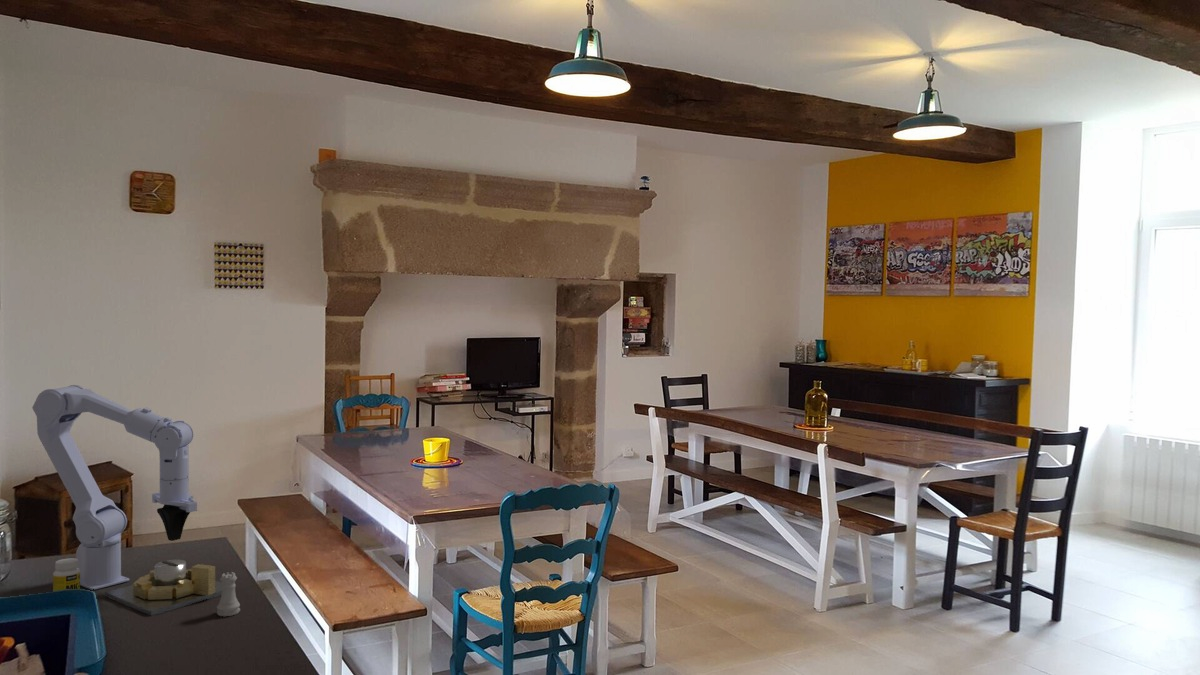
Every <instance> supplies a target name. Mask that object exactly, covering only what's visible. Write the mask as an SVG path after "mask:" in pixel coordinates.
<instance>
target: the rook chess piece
mask: <svg viewBox="0 0 1200 675" xmlns="http://www.w3.org/2000/svg"><path fill="white" fill-rule="evenodd" d="M237 579H238V577H237V576H236V573H235V572H233V571H231V572H229V571H228V572H227V571H226V573H224V572H222V574H221V577H220V578H219V582H221V583H222V586H221V588H222V595H221V596H220V600H219V603H218V604H217V605H216V609H217V611H216V614H217V615H218V616H219V617H222V616H223V618H225V617H226V616H229V617H234V616H236V615H238V614H239V612H241V608H240V606H241V604H240V602H239V601H238V600H239V599H238V598H237V595H236V594H237V593H236V586H237V585H236V580H237ZM233 615H234V616H233Z"/></svg>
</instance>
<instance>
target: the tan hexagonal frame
mask: <svg viewBox="0 0 1200 675" xmlns="http://www.w3.org/2000/svg"><path fill="white" fill-rule="evenodd" d="M215 581H216V566H215V565H209V564H199V563H197V564H195V565H192V566H191V568H189V569H187V568H186V579H185V580H181V581H177V585H174V586H155V569H152V570H149V573H148V574H145V575H143V576H140V577H139V578H138V579H137V580H136V581H134V582H133V584H132V585H133V595H136V596H138V597H140V598H143V599H148V600H154V599H172V598H173V597H175V598H179V597H183V596H186V595H190V594H200V595H208V596H209V595H211V594H213V593H215Z"/></svg>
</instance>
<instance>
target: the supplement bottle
mask: <svg viewBox="0 0 1200 675" xmlns="http://www.w3.org/2000/svg"><path fill="white" fill-rule="evenodd" d="M54 564H55V566H54V569H55V570H54V571H53V573H52V592H53V591H57V590H64V589H80V590H81V585H80V570H79V568H77V567H78V559H76V557H75V558H74V557H73V558H70V557H69V558H61V559H59V560H56V561H55V562H54Z"/></svg>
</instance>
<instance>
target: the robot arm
mask: <svg viewBox="0 0 1200 675" xmlns="http://www.w3.org/2000/svg"><path fill="white" fill-rule="evenodd" d="M31 408H32V411H33V412H34V414H35V416H36V429H37V430H36V431H37V432H36V433H37V437H38V438H39V440H40V443H41V445H42V446H43V448H44V450H45V452H46V453H47V456H48V457H49V459H50V461H51V464H52V465H53V466H54V469H55V471H56V473H57V474H58V476H59V478H60V480H61V482H62V484H63V485H64V487H65V489H66V491H67V493H68V494H69V497H70V499H71V501H72V502H73V504H74V506H75V510H74V513H73V516H72V521H73V522H74V525H75V535H76V538H77V539H78V541H79V542H80V544H79V546H78V547H77V548H76V551H75V559H78V567H77V568H79V570H80V587H83V588H86V589H89V590H90V591H94V590H98V589H99V590H100V589H103V588H106V587H111V586H115V585H118V584H122V583H127V582H129V581H130V578H129V577H127V576H123V575H122V541H121V539H122V532H124V530H125V529H126V528H127V525H128V518H127V515H126V514H125V512H124V511H123V510H122V509H120V508H119V507H118V506H117V505H116V504H115V502H114V500H113V499H110V498H109V497H107V496H106V495H104V494H103V493H102V492H101V489H100V488H99V485H98V484H97V482H96V480H95V478H94V476H93V475H92V472H91V471H90V469H89V467H88V465H87V463H86V462H85V459H84V457H83V456H82V454H81V452H80V450H79V449H78V448H79V447H78V446H77V445H76V443H75V441H74V439H73V437H72V435H71V434H70V431H71V429H72V427H73V426H74V423H75V421H77V419H78V418H79V417H80V416H81V414H83V413H90V414H93V415H96V416H100V417H101V418H104V419H108V420H111V421H113V422H116V423H119V424H122V425H123V426H124V429H125V431H126V432H127V433H129V434H131V435H133V436H135V437H139V438H140V439H141V438H142V439H143V440H146V441H148V442H151V443H153V444H154V445H155V446H156V448H157V449H158V453H159V492H155V493H152V494H151V500H152V501H151V502H152V503H155V504H156V503H158V504H161V505H163V506H162V507H158V508H156V513H158V515H159V517H160V519H161V520H162V523H163V527H164V529H165V533H166V538H167V540H168V541H170V542H171V541H177V540H180V539H181V538H182V534H183V530H184V526H185V523H186V522H187V519H188V517H189V515H190V514H191V513H193V512H197V511H198V502H197V501H195V500H194V495H193V494H190V493H189V491H190V487H189V486H190V481H189V480H190V478H189V475H190V474H189V473H190V472H189V471H190V469H189V468H190V464H189V462H190V460H189V456H190V455H189V454H190V453H189V451H190V450H189V448H190V447H189V445H190V444H191V443H192V440H193V439H194V431H193V428H192V426H190V424H188V423H187V422H185V421H184V420H176V421H172V418H171V417H169V416H167V417H164V416H160V415H159V414H157V413H154V412H152V410H153V409H151V408H149V407H139V408H136V409H134V410H132V409H130V408H128V407H126V406H124V405H121V404H119V403H118V402H116V401H113V400H110V399H108V398H107V397H104V396H102V395H100V394H98V393H96V392H95V391H93V390H92V389H91V388H90V389H89V388H84V387H83V386H80V385H76V384H72V385H69V386H64V387H63V386H62V387H59V388H47V389H44V390H43V391H41V392H40V393H39V394H37V397H36V399H35V401H34V403H33V406H32V407H31ZM93 589H94V590H93Z"/></svg>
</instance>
